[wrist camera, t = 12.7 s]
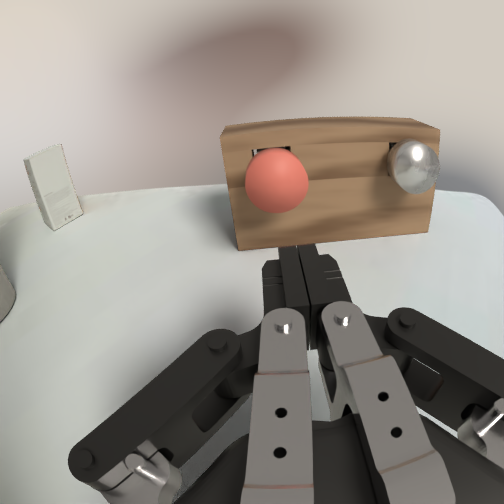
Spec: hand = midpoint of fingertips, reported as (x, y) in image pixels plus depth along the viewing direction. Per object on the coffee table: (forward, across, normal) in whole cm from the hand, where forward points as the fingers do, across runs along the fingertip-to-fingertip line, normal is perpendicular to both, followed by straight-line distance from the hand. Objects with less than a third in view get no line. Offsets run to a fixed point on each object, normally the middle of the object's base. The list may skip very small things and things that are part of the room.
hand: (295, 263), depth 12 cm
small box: (+31, +36, +8) cm, 48 cm away
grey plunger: (+17, -12, +2) cm, 21 cm away
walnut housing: (+17, -6, +8) cm, 20 cm away
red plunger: (+15, 0, +2) cm, 16 cm away
